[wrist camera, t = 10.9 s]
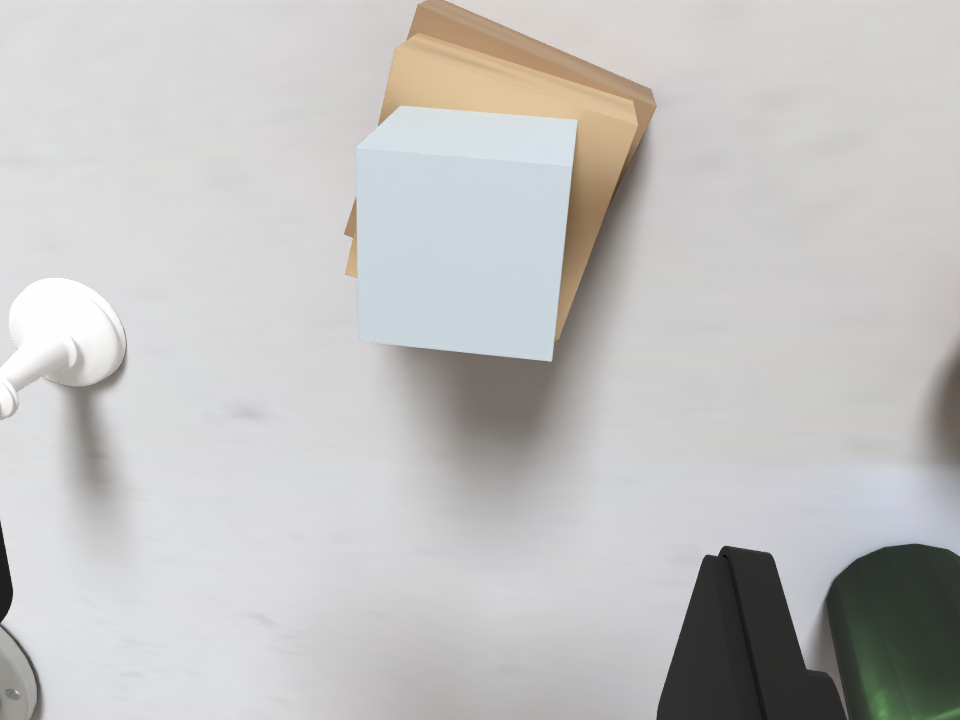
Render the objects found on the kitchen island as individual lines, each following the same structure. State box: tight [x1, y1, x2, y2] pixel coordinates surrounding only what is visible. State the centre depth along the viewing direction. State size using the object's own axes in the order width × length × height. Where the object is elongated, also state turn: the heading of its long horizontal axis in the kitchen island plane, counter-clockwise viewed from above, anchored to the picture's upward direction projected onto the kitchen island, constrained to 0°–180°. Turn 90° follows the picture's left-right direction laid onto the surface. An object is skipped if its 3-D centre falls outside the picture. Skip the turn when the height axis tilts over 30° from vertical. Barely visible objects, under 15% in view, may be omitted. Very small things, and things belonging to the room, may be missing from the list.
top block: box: [345, 33, 638, 340], centre depth 27 cm, size 7×7×4 cm
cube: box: [356, 106, 578, 362], centre depth 23 cm, size 5×5×5 cm
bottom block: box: [344, 0, 657, 238], centre depth 30 cm, size 8×8×4 cm
